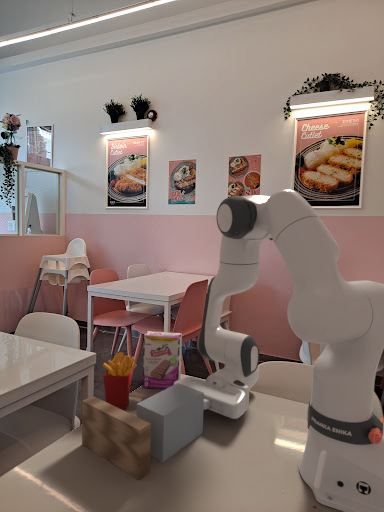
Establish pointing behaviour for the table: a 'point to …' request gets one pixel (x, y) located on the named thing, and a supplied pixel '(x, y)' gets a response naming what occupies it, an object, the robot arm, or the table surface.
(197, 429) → the slate block
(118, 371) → the french fries
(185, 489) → the table surface
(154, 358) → the candy bar box
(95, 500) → the table surface
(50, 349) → the table surface
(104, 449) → the walnut board
